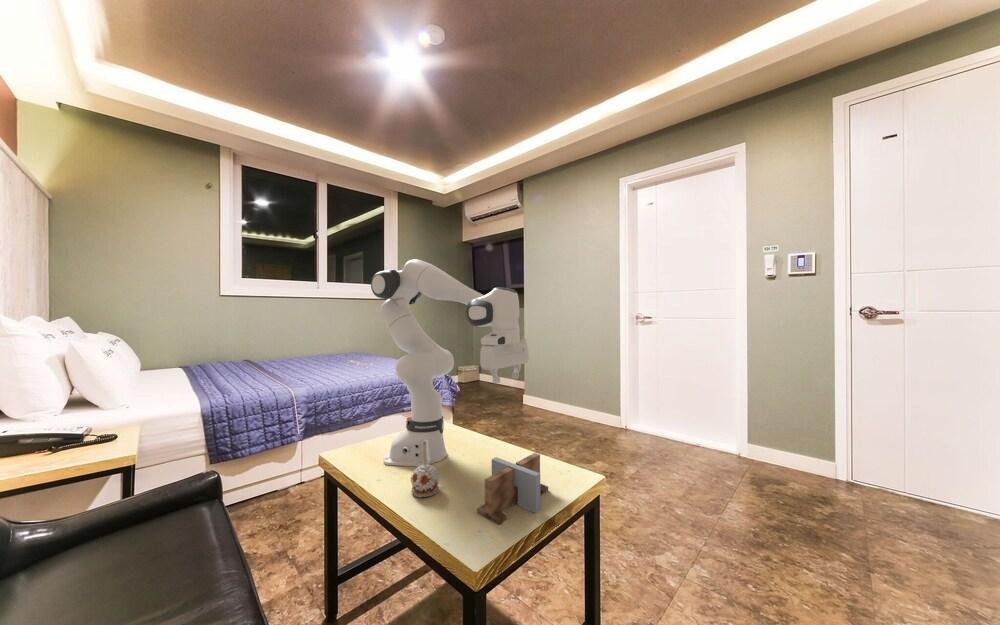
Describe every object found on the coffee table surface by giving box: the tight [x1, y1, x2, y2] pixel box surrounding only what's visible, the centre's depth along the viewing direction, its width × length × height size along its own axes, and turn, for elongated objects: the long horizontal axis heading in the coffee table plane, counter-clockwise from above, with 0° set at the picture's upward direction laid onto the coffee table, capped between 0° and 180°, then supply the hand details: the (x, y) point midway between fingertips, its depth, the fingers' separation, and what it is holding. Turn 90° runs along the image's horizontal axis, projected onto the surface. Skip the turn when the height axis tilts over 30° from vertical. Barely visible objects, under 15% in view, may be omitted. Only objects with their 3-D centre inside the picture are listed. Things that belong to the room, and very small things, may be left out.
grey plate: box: [491, 457, 541, 514], centre depth 100 cm, size 16×2×10 cm, turn 49°
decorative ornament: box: [410, 441, 440, 498], centre depth 106 cm, size 8×8×15 cm
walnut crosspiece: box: [476, 452, 549, 526], centre depth 100 cm, size 22×8×10 cm, turn 139°
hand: (506, 380), depth 115 cm, fingers open, 8 cm apart
